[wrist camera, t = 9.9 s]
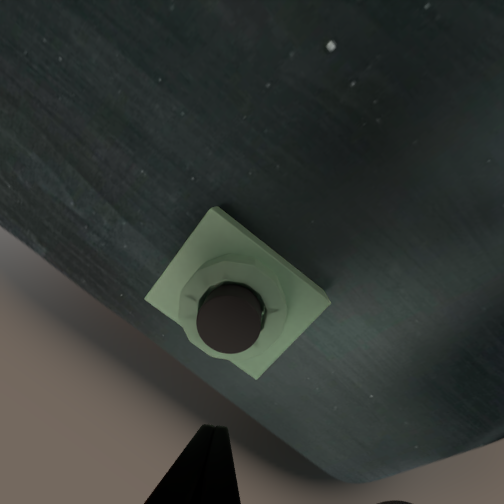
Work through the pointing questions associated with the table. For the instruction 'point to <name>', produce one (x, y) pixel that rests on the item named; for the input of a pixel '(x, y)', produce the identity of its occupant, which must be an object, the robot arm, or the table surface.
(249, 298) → the push button
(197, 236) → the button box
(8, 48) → the table surface
